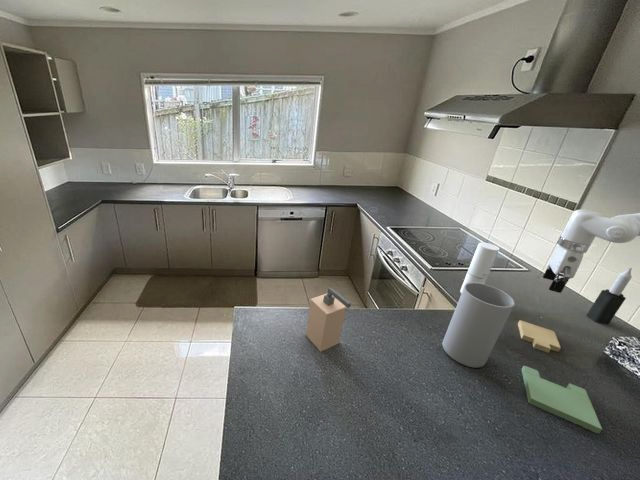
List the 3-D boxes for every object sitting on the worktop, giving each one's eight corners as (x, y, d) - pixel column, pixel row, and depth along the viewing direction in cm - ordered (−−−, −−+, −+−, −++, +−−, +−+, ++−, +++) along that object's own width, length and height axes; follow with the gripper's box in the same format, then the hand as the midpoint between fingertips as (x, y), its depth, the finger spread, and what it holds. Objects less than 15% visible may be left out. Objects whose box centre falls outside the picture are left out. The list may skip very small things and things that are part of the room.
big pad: (582, 393, 84) (585, 389, 83) (598, 434, 74) (602, 429, 73) (521, 369, 91) (523, 365, 91) (528, 403, 81) (531, 398, 80)
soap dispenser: (305, 334, 102) (312, 284, 93) (323, 327, 106) (331, 278, 97) (328, 361, 92) (339, 307, 83) (348, 352, 95) (359, 299, 87)
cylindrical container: (482, 299, 126) (503, 250, 116) (466, 298, 126) (486, 249, 116) (471, 289, 132) (490, 242, 123) (456, 289, 132) (474, 241, 123)
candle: (596, 322, 114) (630, 270, 104) (584, 314, 119) (616, 263, 109) (610, 324, 113) (646, 272, 104) (598, 316, 118) (631, 265, 108)
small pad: (551, 335, 106) (554, 331, 106) (560, 357, 97) (563, 353, 96) (517, 323, 112) (519, 319, 111) (522, 343, 102) (524, 339, 101)
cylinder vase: (482, 375, 89) (513, 313, 79) (438, 353, 96) (461, 294, 87) (486, 353, 97) (515, 294, 88) (445, 334, 105) (467, 278, 95)
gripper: (597, 257, 90) (572, 300, 97) (579, 239, 103) (558, 278, 110) (565, 250, 94) (543, 292, 100) (552, 233, 107) (533, 271, 114)
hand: (551, 284), depth 105 cm, fingers open, 9 cm apart
